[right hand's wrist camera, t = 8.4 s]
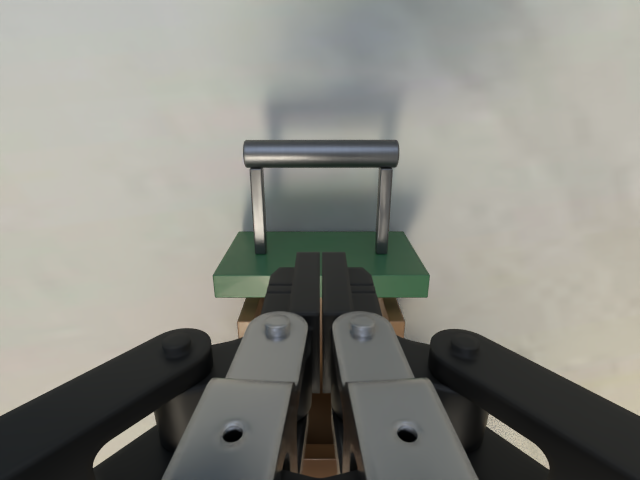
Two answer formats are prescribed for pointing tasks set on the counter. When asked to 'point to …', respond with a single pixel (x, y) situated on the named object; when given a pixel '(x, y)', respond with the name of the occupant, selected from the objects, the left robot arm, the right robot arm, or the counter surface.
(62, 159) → the counter surface
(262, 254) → the drawer
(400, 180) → the counter surface
